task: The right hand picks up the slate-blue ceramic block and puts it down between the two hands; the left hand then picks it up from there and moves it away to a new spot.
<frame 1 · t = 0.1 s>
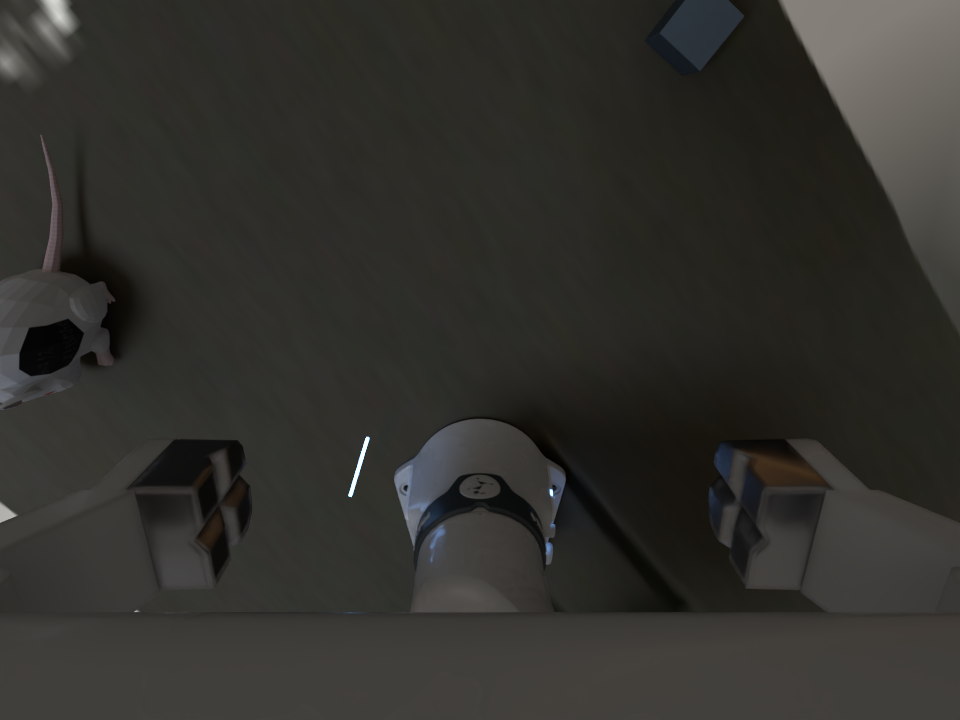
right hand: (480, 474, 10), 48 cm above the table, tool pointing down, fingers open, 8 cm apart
block: (683, 32, 50), on the table
toy: (77, 263, 57), on the table
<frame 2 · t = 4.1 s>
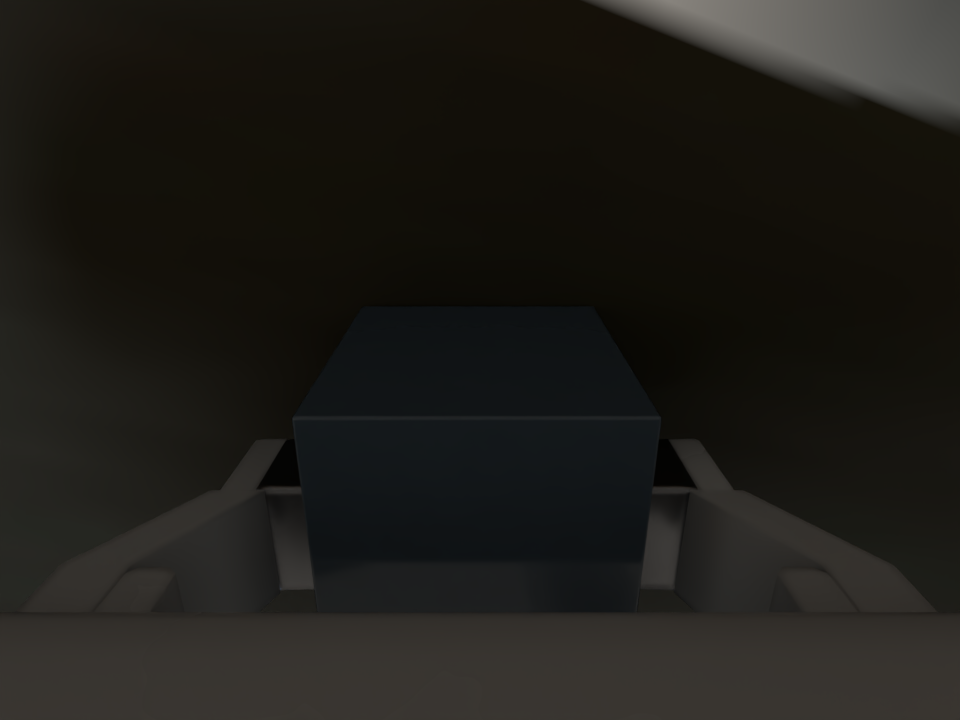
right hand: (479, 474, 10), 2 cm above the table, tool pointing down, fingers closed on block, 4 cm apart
block: (478, 418, 12), on the table, touching right hand
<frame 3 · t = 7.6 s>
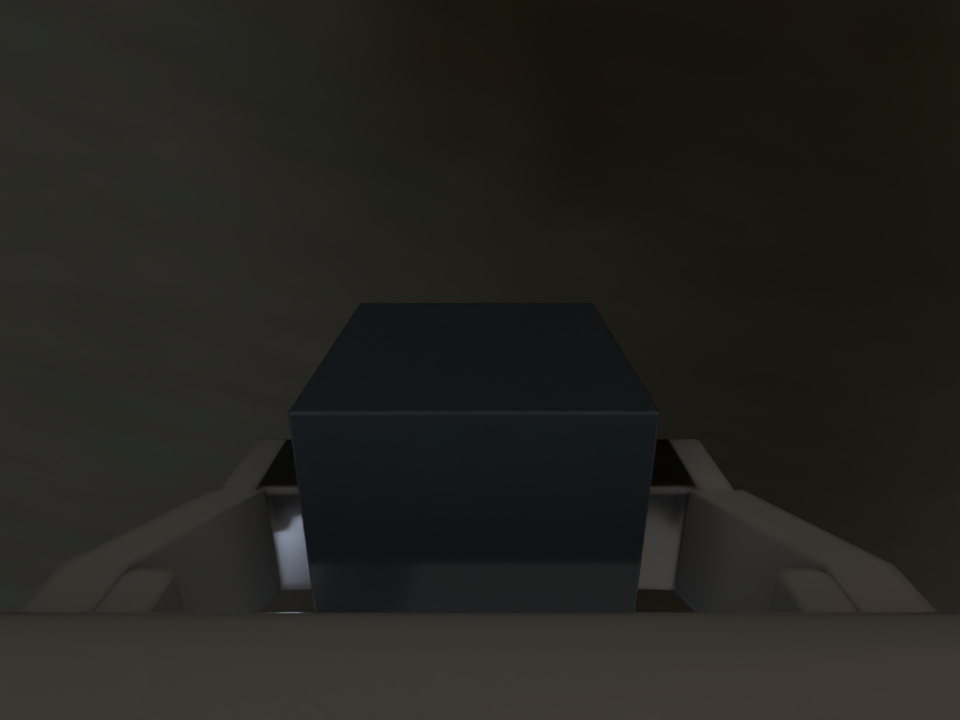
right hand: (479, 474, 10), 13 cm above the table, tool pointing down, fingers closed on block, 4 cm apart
block: (476, 416, 12), point 11 cm above the table, touching right hand
when the right hand's fingers open (3 cm above the table, at t = 11.6 s): block stays where it is, on the table.
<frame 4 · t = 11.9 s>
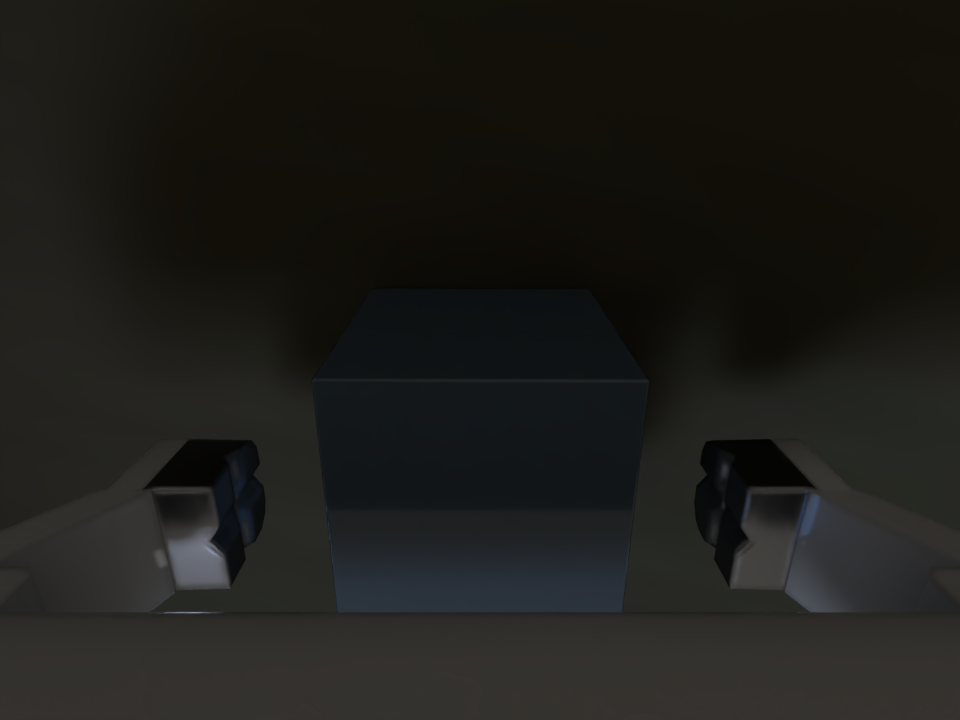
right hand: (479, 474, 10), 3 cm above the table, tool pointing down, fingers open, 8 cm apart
block: (480, 396, 13), on the table
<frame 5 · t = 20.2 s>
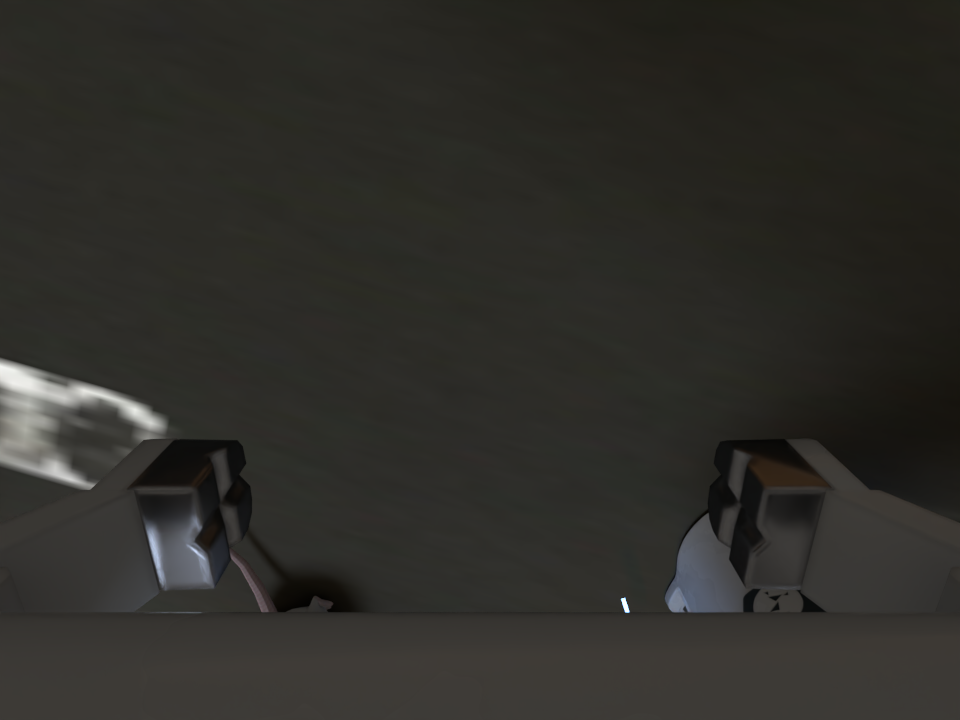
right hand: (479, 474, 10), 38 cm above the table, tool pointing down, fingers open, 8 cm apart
toy: (286, 591, 59), on the table
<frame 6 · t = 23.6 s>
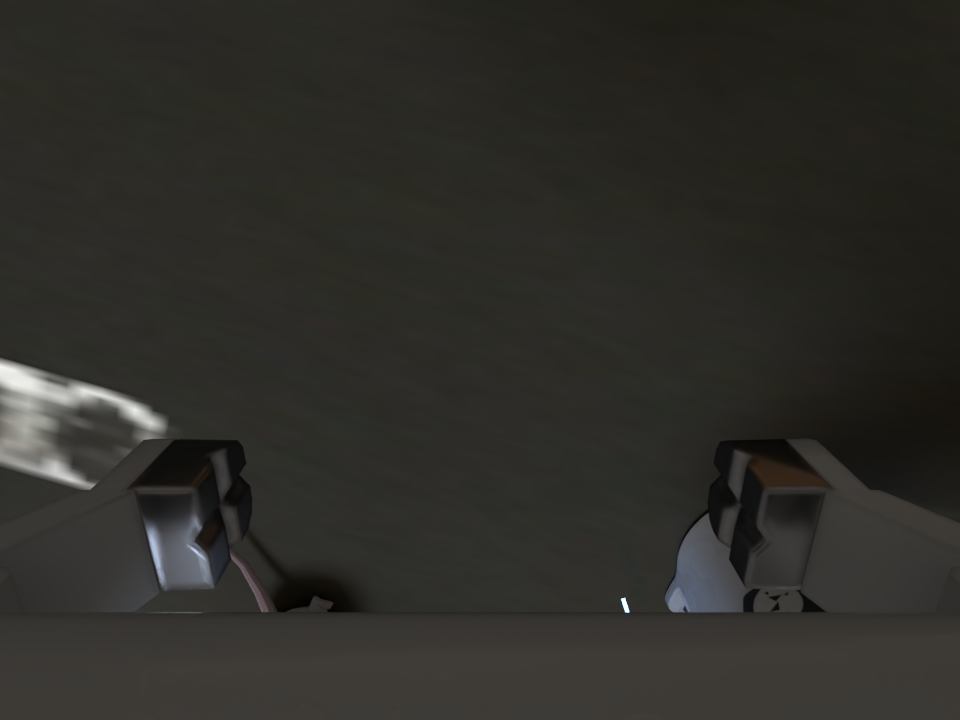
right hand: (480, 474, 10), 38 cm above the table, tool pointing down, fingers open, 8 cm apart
toy: (286, 591, 59), on the table
when the left hand's fingers open (3 cm above the table, at t = 27.0 s): block stays where it is, on the table.
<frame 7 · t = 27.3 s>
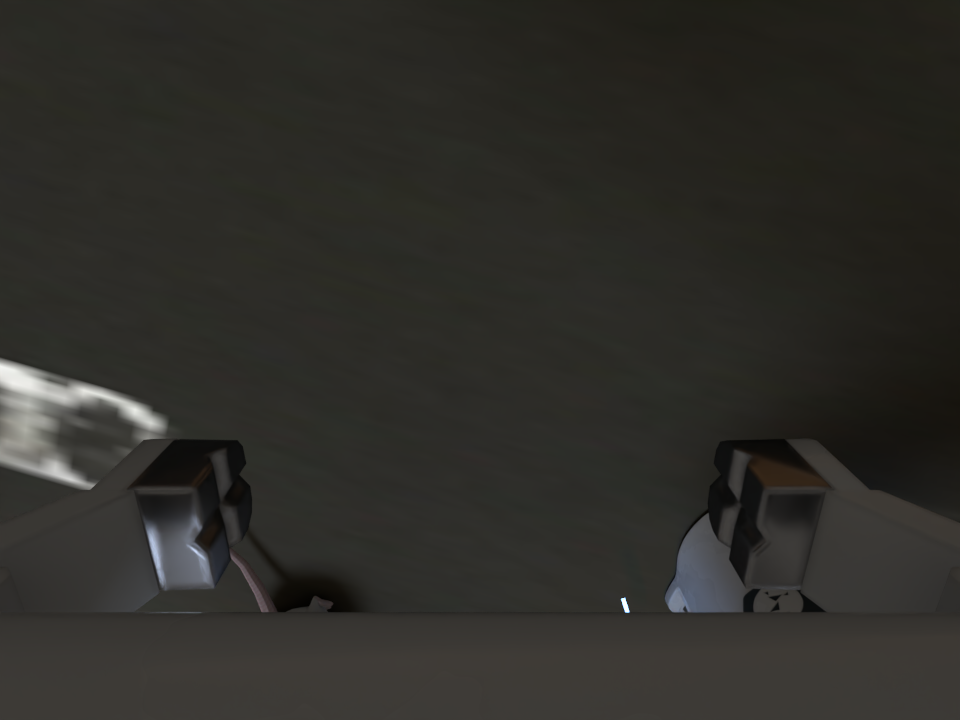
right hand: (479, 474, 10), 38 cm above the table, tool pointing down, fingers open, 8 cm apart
toy: (286, 591, 59), on the table
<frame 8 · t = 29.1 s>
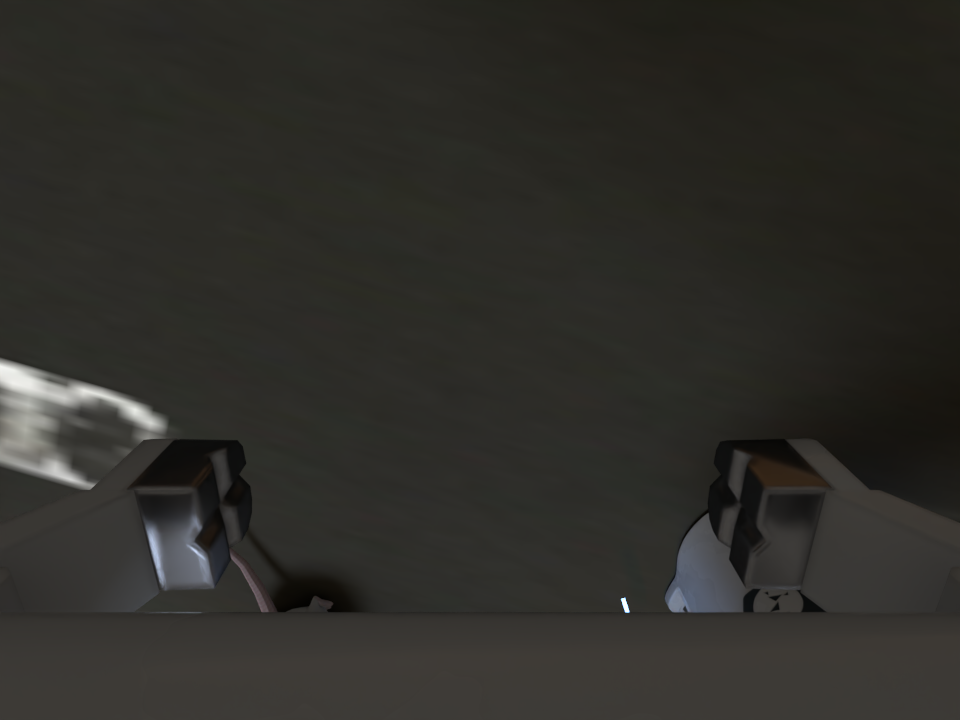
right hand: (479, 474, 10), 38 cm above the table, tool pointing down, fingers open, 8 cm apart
toy: (286, 591, 59), on the table
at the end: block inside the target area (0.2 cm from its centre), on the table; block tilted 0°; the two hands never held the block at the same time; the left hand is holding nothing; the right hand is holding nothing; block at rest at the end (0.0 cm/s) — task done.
